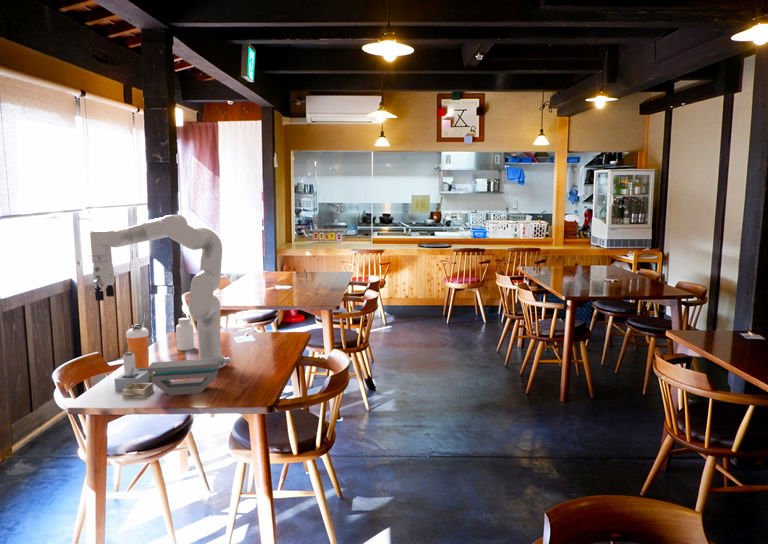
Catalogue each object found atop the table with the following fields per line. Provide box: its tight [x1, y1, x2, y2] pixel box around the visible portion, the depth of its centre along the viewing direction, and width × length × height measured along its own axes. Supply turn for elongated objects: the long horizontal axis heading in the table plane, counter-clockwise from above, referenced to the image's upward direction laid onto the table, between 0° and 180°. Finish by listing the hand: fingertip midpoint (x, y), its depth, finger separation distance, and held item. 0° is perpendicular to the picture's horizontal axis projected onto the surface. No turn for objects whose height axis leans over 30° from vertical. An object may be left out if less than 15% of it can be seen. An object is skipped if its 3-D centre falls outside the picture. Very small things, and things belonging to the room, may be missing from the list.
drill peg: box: [122, 351, 136, 378], centre depth 228 cm, size 4×4×14 cm
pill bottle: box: [175, 317, 195, 352], centre depth 285 cm, size 8×8×15 cm
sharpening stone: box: [148, 358, 220, 396], centre depth 223 cm, size 25×8×11 cm, turn 100°
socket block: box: [114, 368, 154, 391], centre depth 232 cm, size 9×14×4 cm, turn 178°
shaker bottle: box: [125, 323, 150, 368], centre depth 248 cm, size 9×9×20 cm
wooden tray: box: [121, 382, 154, 399], centre depth 221 cm, size 8×8×3 cm
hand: (105, 298), depth 253 cm, fingers open, 9 cm apart
